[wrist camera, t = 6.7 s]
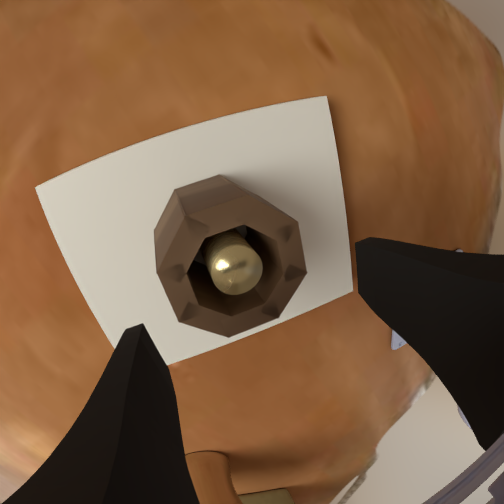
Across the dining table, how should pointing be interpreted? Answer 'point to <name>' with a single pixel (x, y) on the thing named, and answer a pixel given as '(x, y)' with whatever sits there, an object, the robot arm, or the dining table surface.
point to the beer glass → (212, 478)
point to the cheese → (268, 497)
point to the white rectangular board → (186, 172)
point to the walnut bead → (197, 275)
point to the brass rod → (231, 262)
